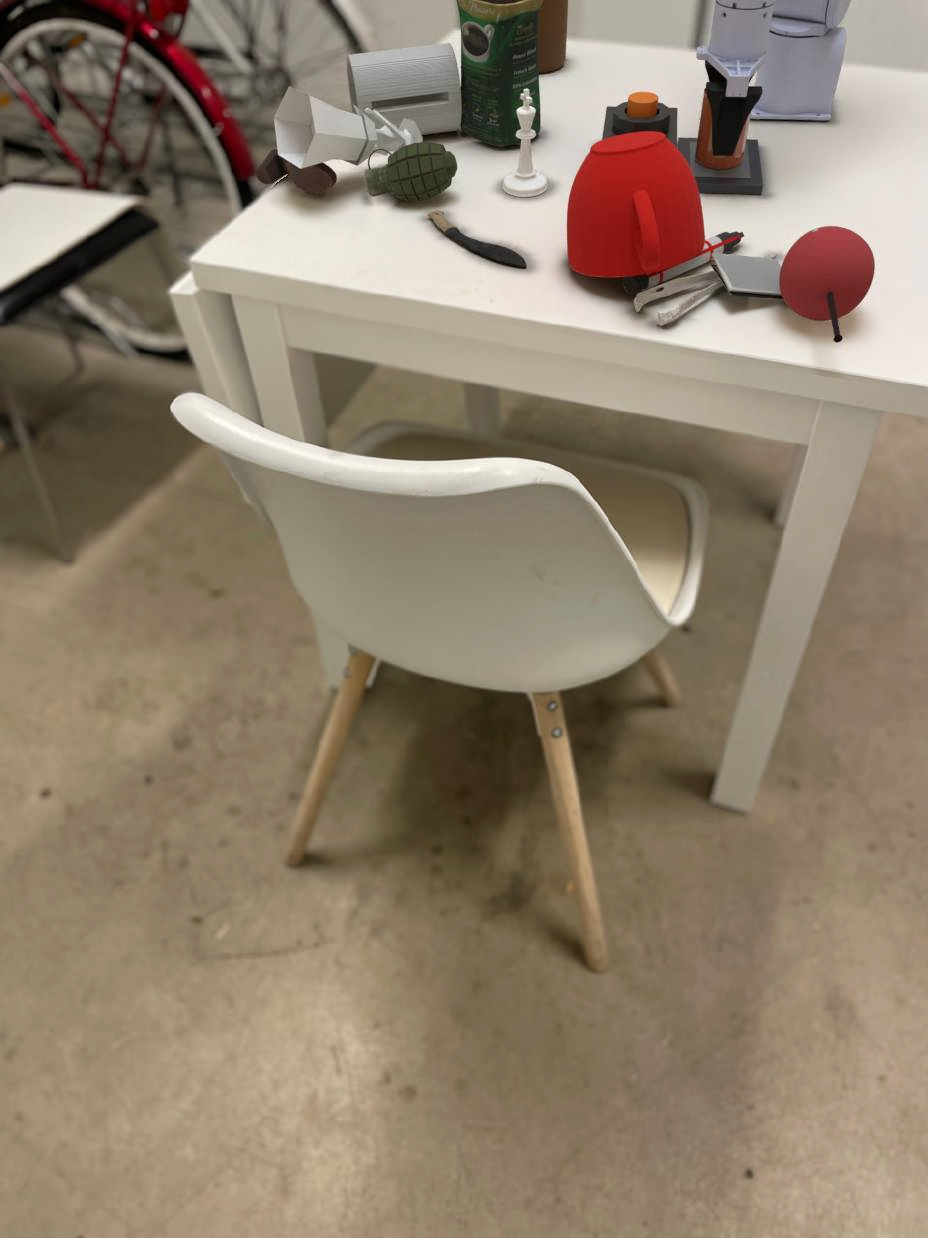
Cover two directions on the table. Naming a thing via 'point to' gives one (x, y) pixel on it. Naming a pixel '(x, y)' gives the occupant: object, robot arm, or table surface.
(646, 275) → the marker
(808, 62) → the robot arm
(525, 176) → the chess piece
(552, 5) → the mug
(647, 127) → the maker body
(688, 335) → the table surface
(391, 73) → the grey rounded slotted piece
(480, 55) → the coffee jar
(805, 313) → the lollipop
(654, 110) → the button
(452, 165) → the grenade
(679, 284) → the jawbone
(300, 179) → the heeled mule
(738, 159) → the clay cup
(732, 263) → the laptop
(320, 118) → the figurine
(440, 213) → the machete
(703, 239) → the ceramic cup
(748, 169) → the tray
